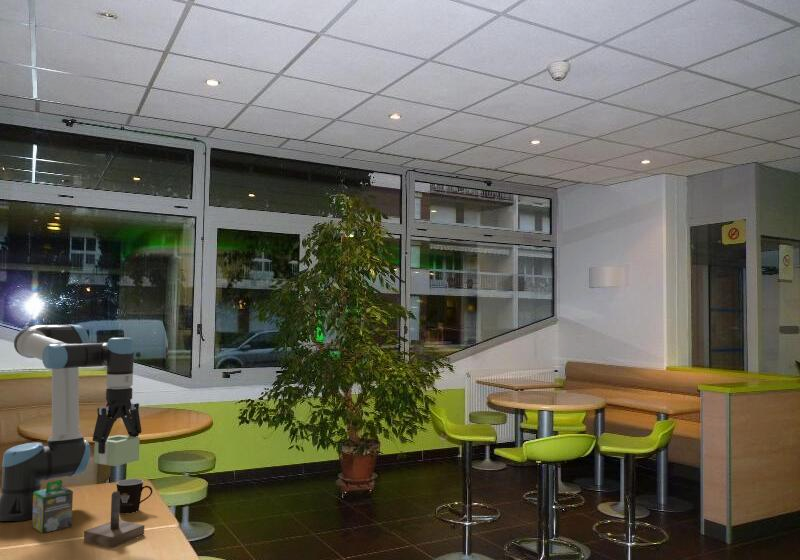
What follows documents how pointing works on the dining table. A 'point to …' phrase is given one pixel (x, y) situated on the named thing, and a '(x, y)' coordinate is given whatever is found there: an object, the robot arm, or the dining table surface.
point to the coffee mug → (131, 494)
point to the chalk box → (52, 508)
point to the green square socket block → (120, 450)
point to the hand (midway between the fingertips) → (116, 460)
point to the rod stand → (114, 528)
